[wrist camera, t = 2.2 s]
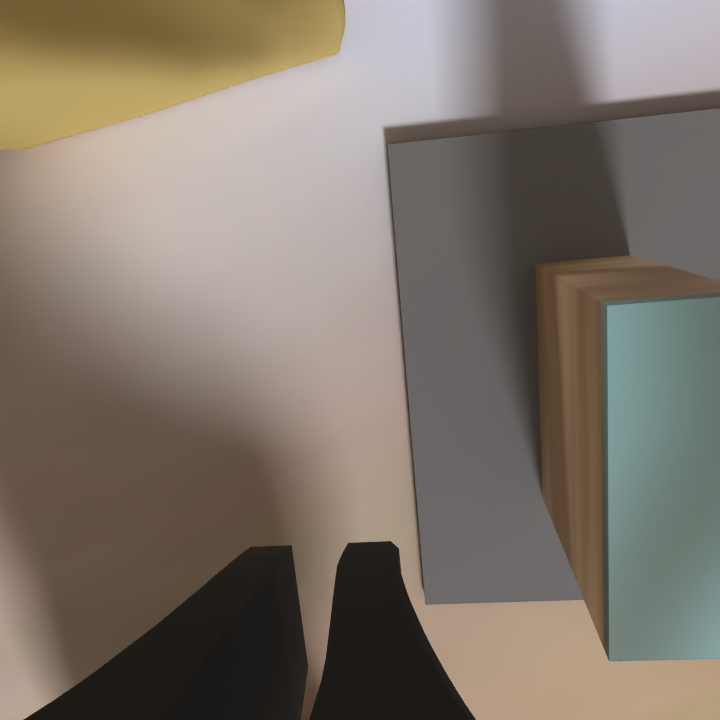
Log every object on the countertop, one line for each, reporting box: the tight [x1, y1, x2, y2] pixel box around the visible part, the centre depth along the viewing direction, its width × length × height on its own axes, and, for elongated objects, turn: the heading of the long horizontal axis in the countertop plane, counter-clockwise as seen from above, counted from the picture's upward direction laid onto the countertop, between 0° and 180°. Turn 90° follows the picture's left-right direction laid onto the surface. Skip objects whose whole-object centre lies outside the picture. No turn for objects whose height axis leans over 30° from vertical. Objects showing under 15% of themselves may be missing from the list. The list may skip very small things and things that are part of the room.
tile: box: [535, 255, 720, 661], centre depth 15 cm, size 2×7×7 cm, turn 6°
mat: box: [387, 108, 720, 605], centre depth 18 cm, size 16×14×1 cm
